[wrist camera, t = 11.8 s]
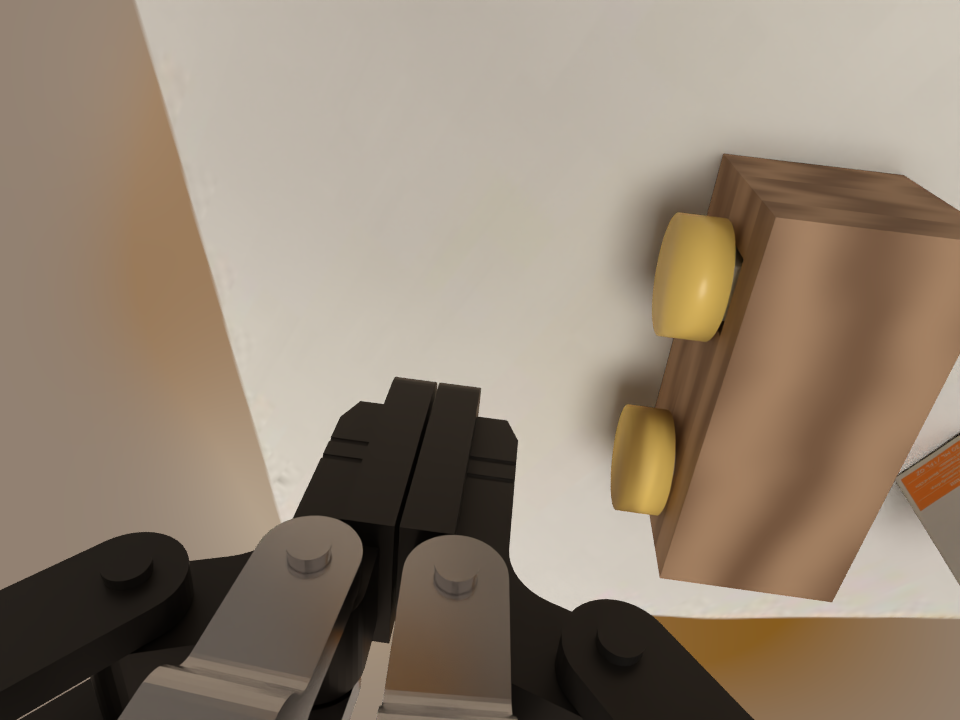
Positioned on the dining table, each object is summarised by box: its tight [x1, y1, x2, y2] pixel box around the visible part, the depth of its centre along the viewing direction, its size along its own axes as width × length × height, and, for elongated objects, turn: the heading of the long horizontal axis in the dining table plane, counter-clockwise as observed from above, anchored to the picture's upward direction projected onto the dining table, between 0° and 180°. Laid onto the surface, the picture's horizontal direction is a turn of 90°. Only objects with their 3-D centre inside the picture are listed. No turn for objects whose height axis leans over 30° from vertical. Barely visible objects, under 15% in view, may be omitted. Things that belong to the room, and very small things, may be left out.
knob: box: [652, 212, 744, 342], centre depth 36 cm, size 15×6×6 cm, turn 85°
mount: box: [611, 154, 960, 602], centre depth 40 cm, size 13×22×11 cm, turn 175°
